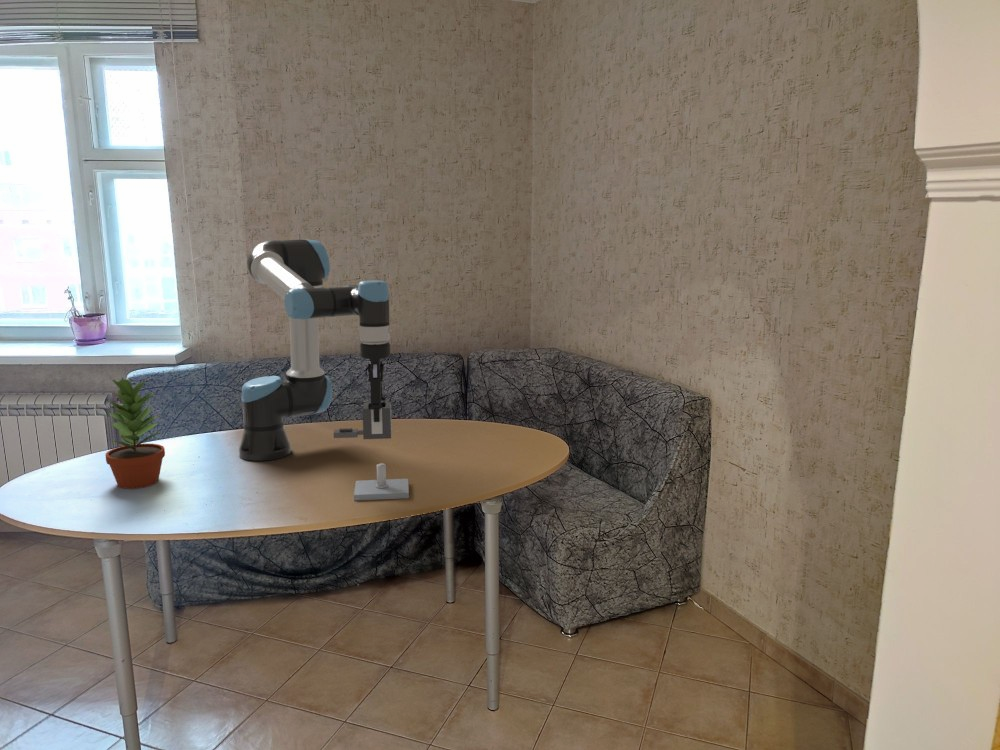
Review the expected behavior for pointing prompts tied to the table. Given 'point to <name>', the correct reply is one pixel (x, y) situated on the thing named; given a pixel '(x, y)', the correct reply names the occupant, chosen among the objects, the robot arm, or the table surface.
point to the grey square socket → (369, 424)
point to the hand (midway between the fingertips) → (377, 429)
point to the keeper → (381, 487)
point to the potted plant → (134, 440)
